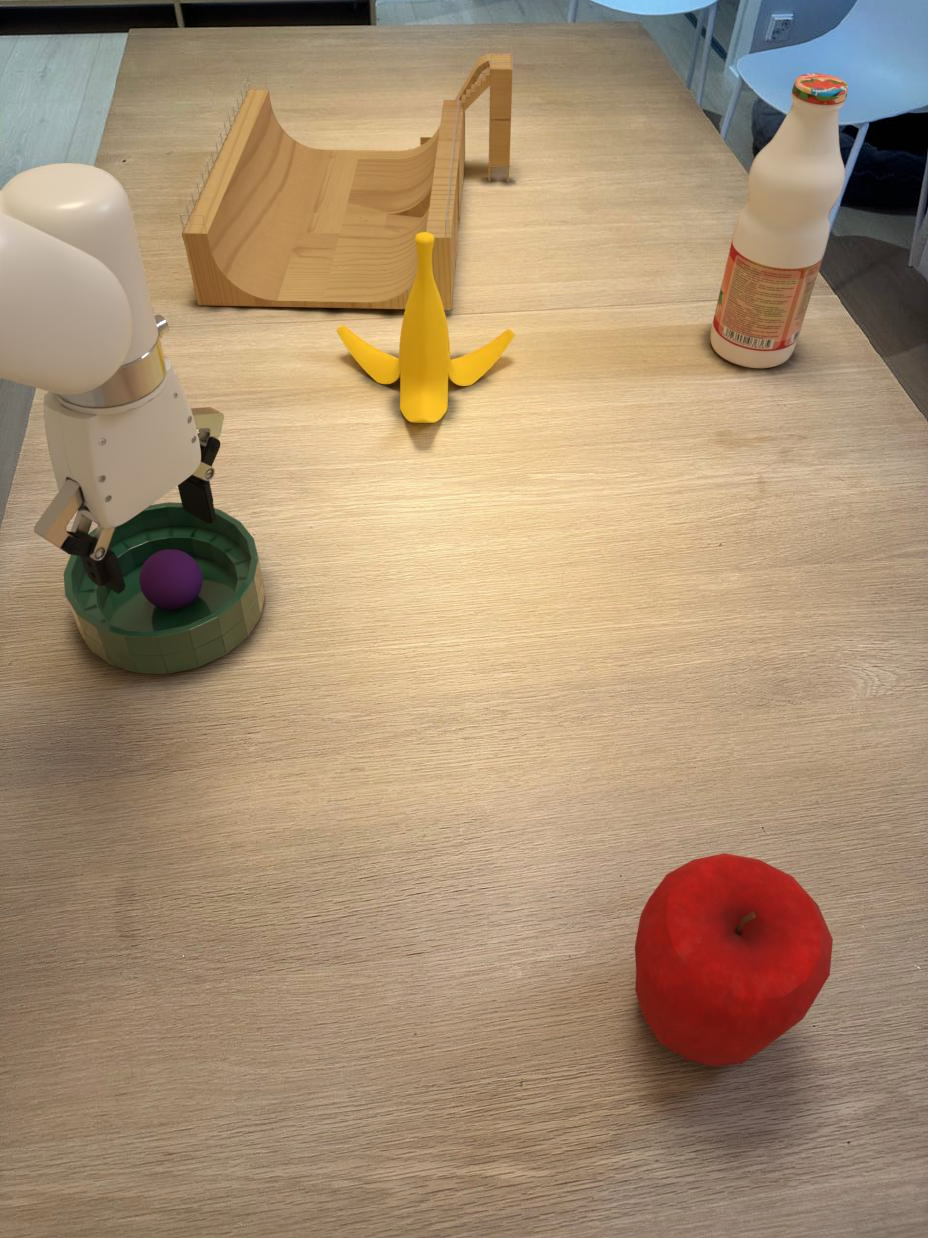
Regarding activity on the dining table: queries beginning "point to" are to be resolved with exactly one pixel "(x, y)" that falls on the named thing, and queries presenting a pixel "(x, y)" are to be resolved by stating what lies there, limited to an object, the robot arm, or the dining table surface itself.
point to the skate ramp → (335, 208)
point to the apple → (728, 958)
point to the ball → (170, 579)
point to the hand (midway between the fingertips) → (156, 548)
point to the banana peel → (424, 349)
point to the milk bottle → (782, 230)
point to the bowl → (170, 637)
